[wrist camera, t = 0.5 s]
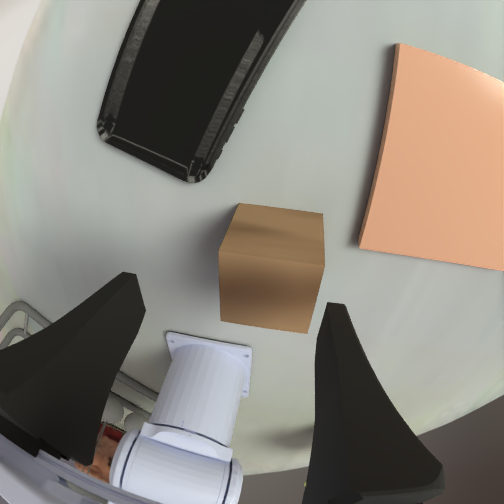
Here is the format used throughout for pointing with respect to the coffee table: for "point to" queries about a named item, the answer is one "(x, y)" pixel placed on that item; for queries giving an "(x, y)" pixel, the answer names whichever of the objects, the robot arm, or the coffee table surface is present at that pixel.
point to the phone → (189, 78)
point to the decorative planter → (103, 453)
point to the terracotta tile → (439, 164)
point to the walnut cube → (271, 267)
